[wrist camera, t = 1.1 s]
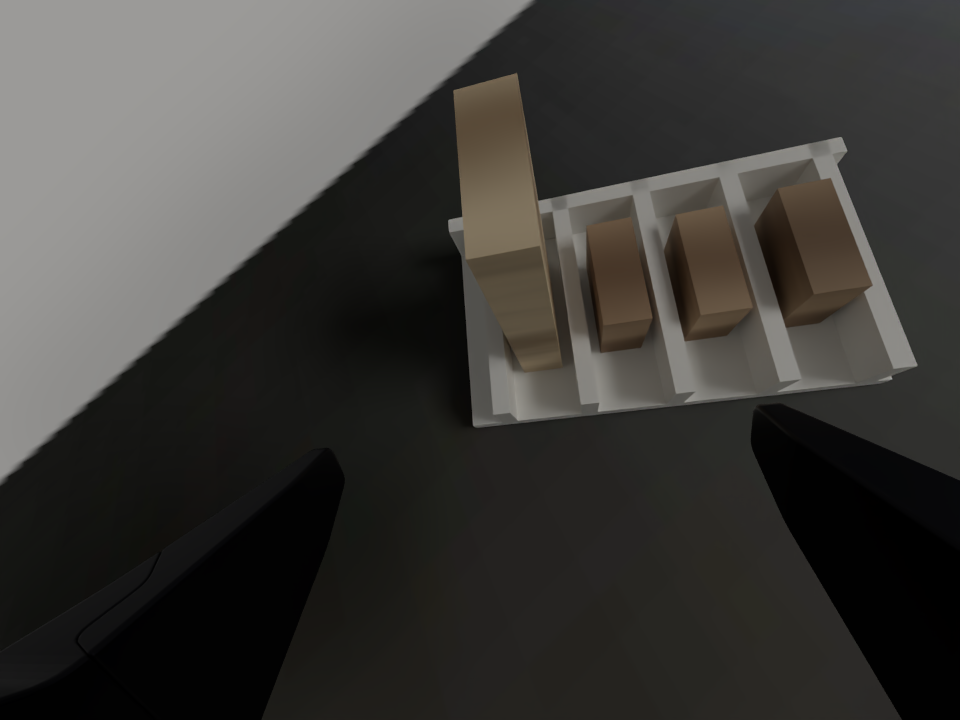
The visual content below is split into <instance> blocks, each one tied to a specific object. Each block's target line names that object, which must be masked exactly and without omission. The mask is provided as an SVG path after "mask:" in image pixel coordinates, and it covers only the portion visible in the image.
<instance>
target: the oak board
mask: <svg viewBox="0 0 960 720" xmlns="http://www.w3.org/2000/svg"><path fill="white" fill-rule="evenodd" d="M454 103H455V117H456V131H457V145H458V159H459V174H460V188H461V202H462V216H463V230H464V244H465V258H466V262H467V263H468V265H469V267H470V269H471V271H472V273H473V275H474V277H475V279H476V281H477V283H478V284H479V286H480V288H481V290H482V292H483V294H484V296H485V298H486V300H487V302H488V304H489V305H490V307H491V309H492V311H493V313H494V315H495V317H496V319H497V321H498V323H499V325H500V326H501V328H502V330H503V332H504V334H505V336H506V338H507V340H508V342H509V344H510V346H511V347H512V349H513V351H514V353H515V355H516V357H517V359H518V361H519V363H520V365H521V367H522V369H523V370H524V372H525V373H527V372H534V371H542V370H549V369H557V368H563V366H562V358H561V351H560V344H559V337H558V329H557V322H556V315H555V307H554V300H553V293H552V286H551V278H550V271H549V264H548V258H547V252H546V246H545V240H544V234H543V228H542V222H541V216H540V210H539V203H538V197H537V191H536V185H535V179H534V173H533V167H532V161H531V155H530V149H529V143H528V137H527V131H526V125H525V118H524V112H523V106H522V100H521V94H520V88H519V82H518V76H517V73H516V74H512V75H509V76H505V77H501V78H498V79H494V80H490V81H487V82H483V83H479V84H476V85H472V86H468V87H465V88H461V89H457V90H454Z"/></svg>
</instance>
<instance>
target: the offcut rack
mask: <svg viewBox="0 0 960 720" xmlns="http://www.w3.org/2000/svg"><path fill="white" fill-rule="evenodd" d="M846 152H847V149H846V146H845V144H844V142H843V139H842V137H839V138H834V139H830V140H825V141H820V142H815V143H811V144H806V145H801V146H796V147H792V148H787V149H782V150H778V151H773V152H768V153H763V154H759V155H754V156H749V157H744V158H740V159H735V160H730V161H726V162H721V163H716V164H711V165H707V166H702V167H697V168H692V169H688V170H683V171H678V172H674V173H669V174H664V175H659V176H655V177H650V178H645V179H640V180H636V181H631V182H626V183H622V184H617V185H612V186H607V187H603V188H598V189H593V190H588V191H584V192H579V193H574V194H570V195H565V196H560V197H555V198H551V199H546V200H541V201H538V203H539V210H540V216H541V222H542V228H543V234H544V240H545V246H546V252H547V258H548V264H549V271H550V278H551V286H552V293H553V300H554V307H555V315H556V322H557V329H558V337H559V344H560V351H561V358H562V366H563V368H557V369H549V370H542V371H534V372H527V373H525V372H524V370H523V369H522V367H521V365H520V363H519V361H518V359H517V357H516V355H515V353H514V351H513V349H512V347H511V346H510V344H509V342H508V340H507V338H506V336H505V334H504V332H503V330H502V328H501V326H500V325H499V323H498V321H497V319H496V317H495V315H494V313H493V311H492V309H491V307H490V305H489V304H488V302H487V300H486V298H485V296H484V294H483V292H482V290H481V288H480V286H479V284H478V283H477V281H476V279H475V277H474V275H473V273H472V271H471V269H470V267H469V265H468V263H467V262H466V258H465V244H464V230H463V217H461V218H456V219H451V220H448V222H449V233H450V235H451V237H452V239H453V241H454V243H455V245H456V246H457V248H458V250H459V252H460V254H461V256H462V270H463V285H464V300H465V314H466V329H467V344H468V358H469V373H470V388H471V402H472V417H473V426H474V427H476V428H480V427H489V426H498V425H507V424H516V423H525V422H534V421H543V420H553V419H562V418H571V417H580V416H589V415H598V414H607V413H616V412H626V411H635V410H644V409H653V408H662V407H671V406H680V405H689V404H699V403H708V402H717V401H726V400H735V399H744V398H753V397H762V396H771V395H781V394H790V393H799V392H808V391H817V390H826V389H835V388H844V387H854V386H863V385H872V384H881V383H884V382H886V381H889V380H892V377H891V376H892V375H894V374H897V373H900V372H903V371H905V370H908V369H911V368H913V367H916V366H917V363H916V361H915V358H914V356H913V353H912V351H911V348H910V346H909V343H908V341H907V338H906V336H905V333H904V331H903V328H902V326H901V323H900V321H899V318H898V316H897V313H896V311H895V308H894V306H893V303H892V301H891V298H890V296H889V294H888V291H887V289H886V286H885V284H884V281H883V279H882V276H881V274H880V271H879V269H878V266H877V264H876V261H875V259H874V256H873V254H872V251H871V249H870V246H869V244H868V241H867V239H866V236H865V234H864V231H863V229H862V226H861V224H860V221H859V219H858V216H857V214H856V211H855V209H854V206H853V204H852V201H851V199H850V196H849V194H848V191H847V189H846V186H845V184H844V181H843V179H842V176H841V174H840V171H839V169H838V166H837V164H838V162H839V161H840V160H841V158H842V157H843V156H844V155H845V153H846ZM828 178H831V180H832V182H833V185H834V187H835V190H836V193H837V195H838V198H839V200H840V203H841V205H842V208H843V210H844V213H845V215H846V218H847V221H848V223H849V226H850V228H851V231H852V233H853V236H854V238H855V241H856V244H857V246H858V249H859V251H860V254H861V256H862V259H863V261H864V264H865V267H866V269H867V272H868V274H869V277H870V279H871V282H872V284H873V286H871V287H870V288H869V289H867V290H866V291H864V292H863V293H861V294H860V295H859V296H857V297H856V298H854V299H853V300H852V301H850V302H849V303H847V304H846V305H844V306H843V307H842V308H840V309H839V310H837V311H836V312H835V313H833V314H832V315H830V316H829V317H828V318H826V319H825V320H823V321H822V322H820V323H817V324H810V325H803V326H795V327H788V328H786V327H785V324H784V321H783V317H782V314H781V311H780V308H779V305H778V301H777V298H776V295H775V292H774V289H773V285H772V282H771V279H770V276H769V273H768V269H767V266H766V263H765V260H764V257H763V253H762V250H761V247H760V244H759V241H758V237H757V234H756V231H755V228H754V225H755V223H756V221H757V220H758V218H759V217H760V215H761V214H762V212H763V210H764V209H765V207H766V206H767V204H768V203H769V201H770V200H771V198H772V196H773V195H774V193H775V192H776V190H777V189H778V188H782V187H787V186H792V185H797V184H802V183H807V182H812V181H818V180H823V179H828ZM722 205H723V206H724V210H725V213H726V216H727V220H728V223H729V227H730V230H731V234H732V237H733V240H734V244H735V247H736V251H737V254H738V258H739V261H740V264H741V268H742V271H743V275H744V278H745V282H746V285H747V288H748V292H749V295H750V299H751V302H752V306H753V308H752V309H751V310H750V311H749V312H748V313H747V315H746V316H745V317H744V318H743V319H742V320H741V321H740V322H739V323H738V324H737V325H736V326H735V328H734V329H733V330H732V331H731V332H730V333H729V334H728V335H727V336H722V337H715V338H707V339H700V340H693V341H684V337H683V333H682V328H681V324H680V320H679V315H678V311H677V307H676V303H675V298H674V294H673V290H672V285H671V281H670V277H669V272H668V268H667V264H666V260H665V255H664V249H665V246H666V243H667V239H668V236H669V233H670V230H671V227H672V224H673V221H674V218H675V215H676V214H681V213H686V212H691V211H696V210H701V209H707V208H712V207H717V206H722ZM628 217H631V218H632V223H633V227H634V232H635V237H636V242H637V246H638V251H639V256H640V260H641V265H642V270H643V275H644V279H645V284H646V289H647V293H648V298H649V303H650V308H651V312H652V317H653V319H652V321H651V324H650V327H649V329H648V332H647V334H646V337H645V339H644V342H643V344H642V347H641V348H635V349H627V350H620V351H613V352H606V353H601V352H600V347H599V341H598V335H597V329H596V323H595V317H594V311H593V305H592V299H591V293H590V287H589V281H588V275H587V269H586V226H588V225H593V224H598V223H603V222H608V221H613V220H618V219H623V218H628Z"/></svg>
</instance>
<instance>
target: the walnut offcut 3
mask: <svg viewBox="0 0 960 720" xmlns="http://www.w3.org/2000/svg"><path fill="white" fill-rule="evenodd" d="M754 228H755V231H756V234H757V237H758V241H759V244H760V247H761V250H762V253H763V257H764V260H765V263H766V266H767V269H768V273H769V276H770V279H771V282H772V285H773V289H774V292H775V295H776V298H777V301H778V305H779V308H780V311H781V314H782V317H783V321H784V324H785V327H786V328H788V327H795V326H803V325H810V324H817V323H820V322H822V321H823V320H825V319H826V318H828V317H829V316H830V315H832V314H833V313H835V312H836V311H837V310H839V309H840V308H842V307H843V306H844V305H846V304H847V303H849V302H850V301H852V300H853V299H854V298H856V297H857V296H859V295H860V294H861V293H863V292H864V291H866V290H867V289H869V288H870V287H871V286H873V284H872V282H871V279H870V277H869V274H868V272H867V269H866V267H865V264H864V261H863V259H862V256H861V254H860V251H859V249H858V246H857V244H856V241H855V238H854V236H853V233H852V231H851V228H850V226H849V223H848V221H847V218H846V215H845V213H844V210H843V208H842V205H841V203H840V200H839V198H838V195H837V193H836V190H835V187H834V185H833V182H832V180H831V178H828V179H823V180H818V181H812V182H807V183H802V184H797V185H792V186H787V187H782V188H778V189H777V190H776V192H775V193H774V195H773V196H772V198H771V200H770V201H769V203H768V204H767V206H766V207H765V209H764V210H763V212H762V214H761V215H760V217H759V218H758V220H757V221H756V223H755V225H754Z"/></svg>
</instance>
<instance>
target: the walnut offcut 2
mask: <svg viewBox="0 0 960 720" xmlns="http://www.w3.org/2000/svg"><path fill="white" fill-rule="evenodd" d="M664 255H665V260H666V264H667V268H668V272H669V277H670V281H671V285H672V290H673V294H674V298H675V303H676V307H677V311H678V315H679V320H680V324H681V328H682V333H683V337H684V341H693V340H700V339H707V338H715V337H722V336H727V335H728V334H729V333H730V332H731V331H732V330H733V329H734V328H735V326H736V325H737V324H738V323H739V322H740V321H741V320H742V319H743V318H744V317H745V316H746V315H747V313H748V312H749V311H750V310H751V309H752V308H753V306H752V302H751V299H750V295H749V292H748V288H747V285H746V282H745V278H744V275H743V271H742V268H741V264H740V261H739V258H738V254H737V251H736V247H735V244H734V240H733V237H732V234H731V230H730V227H729V223H728V220H727V216H726V213H725V210H724V206H723V205H722V206H717V207H712V208H707V209H701V210H696V211H691V212H686V213H681V214H676V215H675V218H674V221H673V224H672V227H671V230H670V233H669V236H668V239H667V243H666V246H665V249H664Z"/></svg>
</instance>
